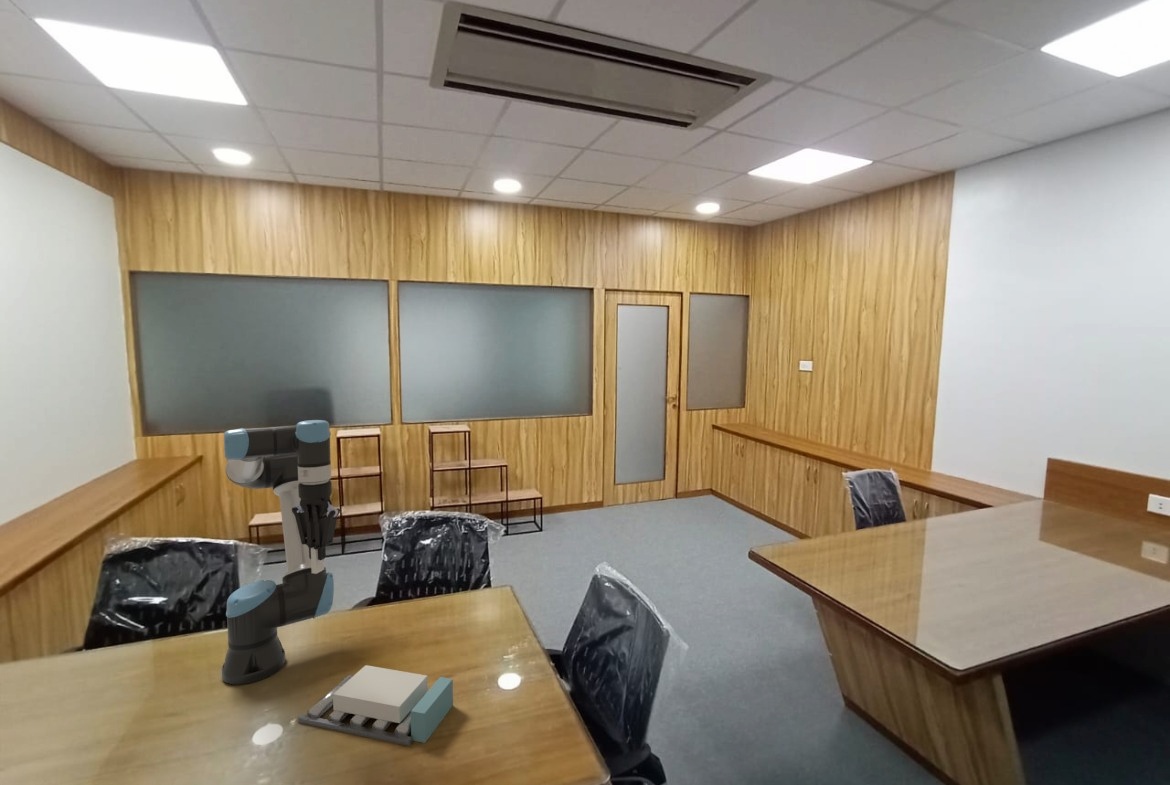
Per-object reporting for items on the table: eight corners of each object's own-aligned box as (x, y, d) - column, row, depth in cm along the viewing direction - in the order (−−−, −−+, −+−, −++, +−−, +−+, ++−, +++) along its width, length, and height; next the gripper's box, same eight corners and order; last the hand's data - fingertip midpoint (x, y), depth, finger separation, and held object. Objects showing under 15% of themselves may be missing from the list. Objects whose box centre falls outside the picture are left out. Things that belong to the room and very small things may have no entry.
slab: (333, 710, 124) (332, 694, 124) (366, 679, 135) (365, 665, 135) (399, 723, 119) (399, 706, 119) (427, 690, 131) (427, 675, 131)
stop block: (411, 740, 118) (410, 711, 118) (440, 703, 131) (440, 676, 130) (424, 742, 118) (424, 713, 117) (453, 705, 130) (452, 678, 130)
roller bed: (409, 745, 117) (408, 733, 116) (298, 722, 124) (297, 710, 124) (445, 699, 132) (445, 688, 132) (345, 681, 140) (345, 670, 140)
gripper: (281, 483, 129) (285, 574, 131) (325, 486, 126) (328, 580, 128) (304, 476, 137) (307, 563, 138) (347, 479, 134) (349, 568, 135)
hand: (317, 571), depth 133 cm, fingers closed
